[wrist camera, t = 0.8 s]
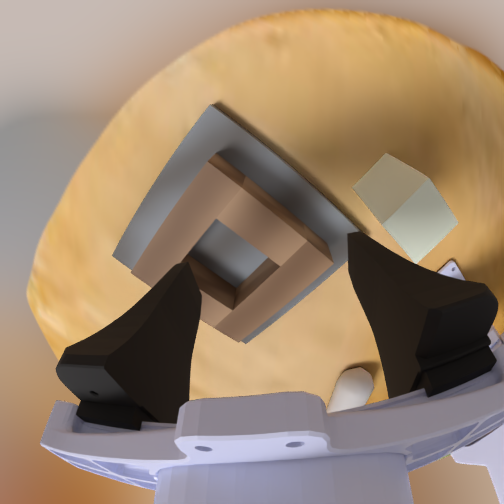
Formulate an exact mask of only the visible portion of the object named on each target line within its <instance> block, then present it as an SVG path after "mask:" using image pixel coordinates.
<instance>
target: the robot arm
mask: <svg viewBox="0 0 504 504" xmlns="http://www.w3.org/2000/svg"><path fill="white" fill-rule="evenodd" d="M347 243H348V271H349V275H350V278H351V281H352V284H353V287H354V290H355V292H356V294H357V297H358V299H359V301H360V303H361V305H362V308H363V310H364V312H365V314H366V316H367V319H368V321H369V323H370V326H371V328H372V331H373V333H374V337H375V340H376V344H377V347H378V351H379V355H380V359H381V363H382V367H383V371H384V376H385V381H386V386H387V391H388V397H389V399H387V400H383V401H380V402H376V403H372V404H368V405H364V406H360V407H355V408H351V409H346V410H341V411H336V412H331V413H327V412H326V406H325V403H324V402H323V400H322V399H321V398H320V397H319V396H317V395H314V394H310V393H307V392H303V391H300V392H279V393H271V394H261V395H251V396H239V397H223V398H202V399H196V400H190V401H189V389H190V370H191V359H192V353H193V348H194V343H195V339H196V334H197V330H198V325H199V320H200V315H201V305H202V294H201V292H200V289H199V287H198V285H197V282H196V280H195V277H194V275H193V272H192V270H191V267H190V264H189V262H184V263H178V264H176V265H174V266H173V267H172V268H171V269H170V270H169V271H168V272H167V273H166V274H165V275H164V276H163V277H162V278H161V279H160V280H159V281H158V282H157V283H156V284H155V286H154V287H153V288H152V289H151V290H150V291H149V292H148V293H147V294H145V295H144V296H143V297H142V298H141V299H140V300H139V301H138V302H137V303H136V304H135V305H134V306H133V307H132V308H130V309H129V310H128V311H127V312H126V313H124V314H123V315H122V316H121V317H119V318H118V319H116V320H115V321H113V322H112V323H111V324H109V325H108V326H106V327H105V328H103V329H102V330H100V331H98V332H97V333H95V334H93V335H91V336H90V337H88V338H86V339H84V340H82V341H80V342H78V343H75V344H73V345H71V346H69V347H66V349H65V351H64V353H63V355H62V357H61V359H60V361H59V363H58V365H57V367H56V372H57V375H58V377H59V379H60V380H61V381H62V383H63V384H64V385H65V386H66V387H67V388H68V389H69V390H70V391H72V393H73V394H74V395H76V396H77V397H78V398H79V399H80V400H81V402H80V404H79V406H78V405H76V404H73V403H70V402H65V401H60V400H57V401H56V402H55V404H54V407H53V409H52V412H51V415H50V417H49V420H48V422H47V425H46V428H45V430H44V433H43V436H42V439H41V442H40V444H41V445H42V446H43V447H45V448H46V449H48V450H49V451H51V452H52V453H54V454H55V455H57V456H58V457H60V458H62V459H63V460H65V461H67V462H68V463H70V464H72V465H74V466H75V467H77V468H81V469H83V470H86V471H89V472H92V473H95V474H98V475H102V476H105V477H107V478H111V479H114V480H117V481H121V482H124V483H128V484H131V485H135V486H139V487H143V488H147V489H151V490H156V491H155V498H154V504H414V503H413V498H412V492H411V487H410V482H409V477H408V472H410V471H413V470H415V469H418V468H420V467H423V466H425V465H427V464H430V463H432V462H434V461H436V460H438V459H440V458H443V457H445V456H447V455H449V454H451V456H452V458H454V460H455V462H457V463H461V464H462V463H463V464H472V465H483V466H487V469H488V471H489V474H490V477H491V479H492V482H493V485H494V488H495V490H496V493H497V497H498V500H499V503H500V504H504V332H503V333H502V334H501V336H500V335H499V334H498V332H497V331H496V329H495V327H494V326H493V322H494V320H495V317H496V314H497V311H498V301H497V299H496V297H495V296H494V295H493V293H492V292H491V291H490V290H489V288H488V287H487V286H486V285H485V284H483V283H477V282H471V281H466V280H465V278H464V277H463V275H462V273H461V272H460V270H459V268H458V267H457V265H456V263H455V262H454V261H452V260H451V261H449V262H448V263H447V264H446V265H445V266H444V267H443V268H442V269H441V270H439V271H438V272H434V271H431V270H429V269H426V268H424V267H421V266H419V265H417V264H415V263H412V262H410V261H408V260H407V259H405V258H403V257H401V256H399V255H397V254H396V253H394V252H392V251H391V250H389V249H387V248H386V247H384V246H383V245H381V244H379V243H378V242H376V241H375V240H373V239H372V238H370V237H369V236H367V235H366V234H364V233H362V232H361V231H358V232H353V233H347ZM453 267H454V268H453ZM452 268H453V269H452Z"/></svg>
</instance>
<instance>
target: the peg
mask: <svg viewBox="0 0 504 504" xmlns="http://www.w3.org/2000/svg"><path fill="white" fill-rule="evenodd" d="M352 188H353V190H354V191H355V192H356V193H357V194H358V196H359V197H360V198H361V199H362V200H363V202H364V203H365V204H366V205H367V207H368V208H369V209H370V211H371V212H372V213H373V214H374V216H375V217H376V218H377V220H378V221H379V222H380V223H381V225H382V226H383V227H384V228H385V229H386V230H387V231H388V233H389V234H390V235H391V236H392V237H393V238H394V239H395V240H396V242H397V243H398V244H399V245H400V246H401V247H402V249H403V250H404V251H405V252H406V253H407V254H408V256H409V257H410V258H411V259H412V260H413V262H414V263H415V264H417V263H418V262H419V261H420V260H421V259H422V258H423V257H424V256H425V255H426V254H428V253H429V252H430V251H431V250H432V249H433V248H434V247H435V246H436V245H437V244H438V243H439V242H440V241H441V240H442V239H443V238H444V237H445V236H446V235H447V234H448V233H449V232H450V231H451V230H452V229H453V228H454V227H455V226H456V225H457V224H458V221H457V219H456V218H455V216H454V215H453V213H452V211H451V210H450V208H449V206H448V205H447V203H446V202H445V200H444V199H443V197H442V196H441V194H440V193H439V191H438V190H437V188H436V187H435V185H434V184H433V182H432V181H431V180H430V178H429V177H427V176H426V175H424V174H422V173H421V172H419V171H417V170H416V169H414V168H412V167H411V166H409V165H407V164H405V163H404V162H402V161H400V160H398V159H397V158H395V157H393V156H391V155H389V154H388V153H385V154H384V155H383V156H382V157H381V158H380V159H379V160H378V161H377V162H376V163H375V164H374V165H373V166H372V168H371V169H370V170H369V171H368V172H367V173H366V174H365V175H364V176H363V177H362V178H361V179H360V180H359V181H358V182H357V183H356V184H355V185H354V186H353V187H352Z"/></svg>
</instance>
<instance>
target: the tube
mask: <svg viewBox="0 0 504 504" xmlns="http://www.w3.org/2000/svg"><path fill="white" fill-rule="evenodd" d="M373 389H374V384H373V380H372V376H371V375H370V373H368V372H367V371H365V370H364V369H363V368H361V367H358V368H354V369H349V370H346V371H344V372H343V373H342V375H341V376H340V378H339V379H338V380H337V383H336V385H335V388H334V391H333V394H332V396H331V399H330V402H329V404H328V407H327V409H326V412H327V413H331V412H336V411H341V410H346V409H351V408H355V407H360V406H364V405H365V404H366V402H367V400H368V398H369V397H370V395H371V393H372V391H373Z"/></svg>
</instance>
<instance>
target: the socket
mask: <svg viewBox="0 0 504 504" xmlns="http://www.w3.org/2000/svg"><path fill="white" fill-rule="evenodd" d="M358 231H361V230H360V229H359V228H358V227H357V226H356V225H355V224H353V223H352V222H351V221H350V220H349V219H348V218H347V217H346V216H345V215H344V214H343V213H342V212H341V211H340V210H339V209H338V208H337V207H336V206H335V205H334V204H333V203H332V202H330V201H329V200H328V199H327V198H326V197H325V196H324V195H323V194H322V193H321V192H320V191H319V190H317V189H316V188H315V187H314V186H313V185H312V184H311V183H310V182H309V181H307V180H306V179H305V178H304V177H303V176H302V175H301V174H299V173H298V172H297V171H296V170H295V169H294V168H293V167H291V166H290V165H289V164H288V163H287V162H285V161H284V160H283V159H282V158H281V157H280V156H278V155H277V154H276V153H275V152H274V151H272V150H271V149H270V148H269V147H267V146H266V145H265V144H264V143H262V142H261V141H260V140H259V139H257V138H256V137H255V136H254V135H252V134H251V133H250V132H249V131H247V130H246V129H245V128H243V127H242V126H241V125H240V124H238V123H237V122H236V121H234V120H233V119H232V118H230V117H229V116H228V115H226V114H225V113H224V112H222V111H221V110H220V109H218V108H217V107H215V106H214V105H209V107H208V108H207V109H206V110H205V112H204V113H203V114H202V115H201V117H200V118H199V119H198V121H197V122H196V123H195V125H194V126H193V127H192V129H191V130H190V131H189V133H188V134H187V135H186V137H185V138H184V140H183V141H182V142H181V144H180V145H179V147H178V148H177V149H176V151H175V152H174V154H173V155H172V157H171V158H170V160H169V161H168V163H167V164H166V165H165V167H164V168H163V170H162V171H161V173H160V175H159V176H158V178H157V179H156V181H155V182H154V184H153V185H152V187H151V189H150V190H149V192H148V193H147V195H146V197H145V198H144V200H143V201H142V203H141V205H140V206H139V208H138V210H137V211H136V213H135V215H134V217H133V218H132V220H131V222H130V223H129V225H128V227H127V229H126V231H125V232H124V234H123V236H122V238H121V240H120V241H119V243H118V245H117V247H116V249H115V251H114V253H113V255H112V256H113V257H114V258H116V259H117V260H118V261H120V262H121V263H122V264H124V265H125V266H127V267H128V268H129V269H131V270H132V271H131V273H132V274H133V275H134V276H136V277H137V278H139V279H140V280H141V281H143V282H144V283H146V284H147V285H149V286H150V287H152V288H153V287H154V286H155V284H156V283H157V282H158V281H159V280H160V279H161V278H162V277H163V276H164V275H165V274H166V273H167V272H168V271H169V270H170V269H171V268H172V267H173V266H174V265H176V264H178V263H184V262H189V264H190V267H191V270H192V272H193V275H194V277H195V280H196V282H197V285H198V287H199V289H200V292H201V294H202V305H201V315H200V320H202V321H204V322H205V323H207V324H208V325H210V326H212V327H213V328H215V329H217V330H218V331H220V332H222V333H223V334H225V335H227V336H228V337H230V338H232V339H233V340H235V341H237V342H240V341H242V342H244V343H245V344H247V343H248V342H249V341H250V340H252V339H253V338H254V337H256V336H257V335H258V334H260V333H261V332H262V331H263V330H265V329H266V328H267V327H269V326H270V325H271V324H272V323H274V322H275V321H276V320H277V319H279V318H280V317H281V316H282V315H284V314H285V313H286V312H287V311H289V310H290V309H291V308H292V307H294V306H295V305H296V304H297V303H298V302H300V301H301V300H302V299H303V298H305V297H306V296H307V295H308V294H309V293H311V292H312V291H313V290H314V289H315V288H316V287H318V286H319V285H320V284H321V283H322V282H323V281H325V280H326V279H327V278H328V277H329V276H330V275H332V274H333V273H334V272H335V271H336V270H337V269H338V268H340V267H341V266H342V265H343V264H344V263H345V262H346V261H348V243H347V233H353V232H358ZM361 232H362V231H361ZM362 233H363V232H362Z"/></svg>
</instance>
